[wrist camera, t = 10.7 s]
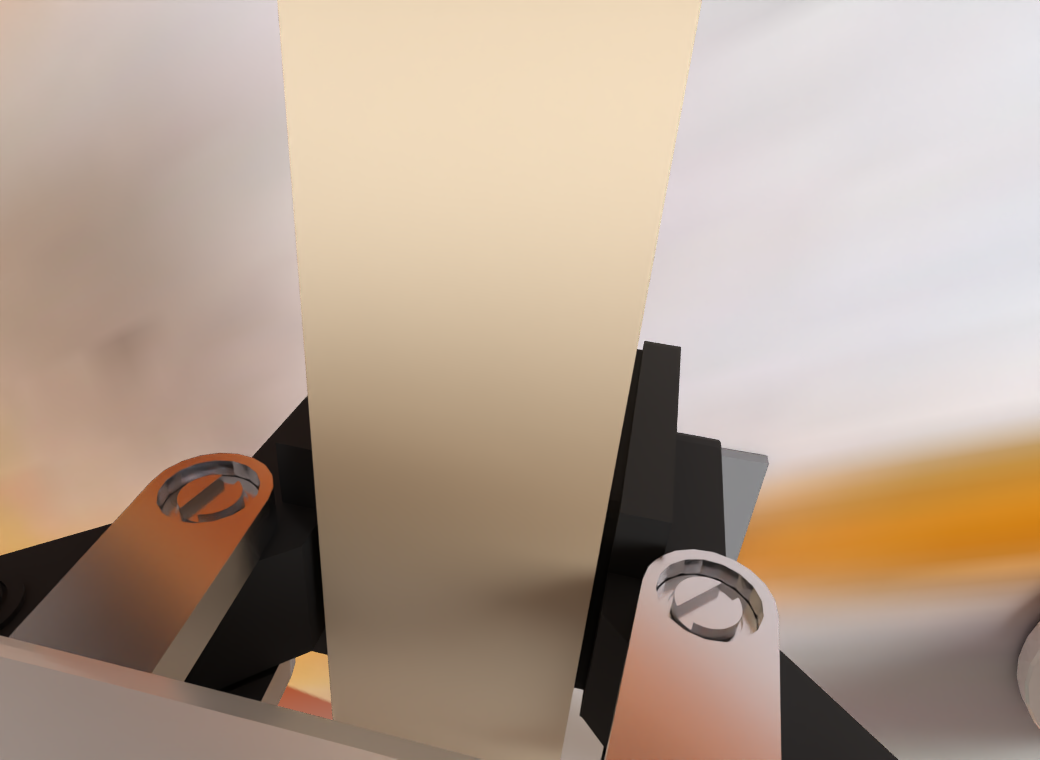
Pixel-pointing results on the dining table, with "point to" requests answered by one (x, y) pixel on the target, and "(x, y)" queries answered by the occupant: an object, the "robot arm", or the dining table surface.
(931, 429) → the dining table surface
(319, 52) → the turner
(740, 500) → the mat
